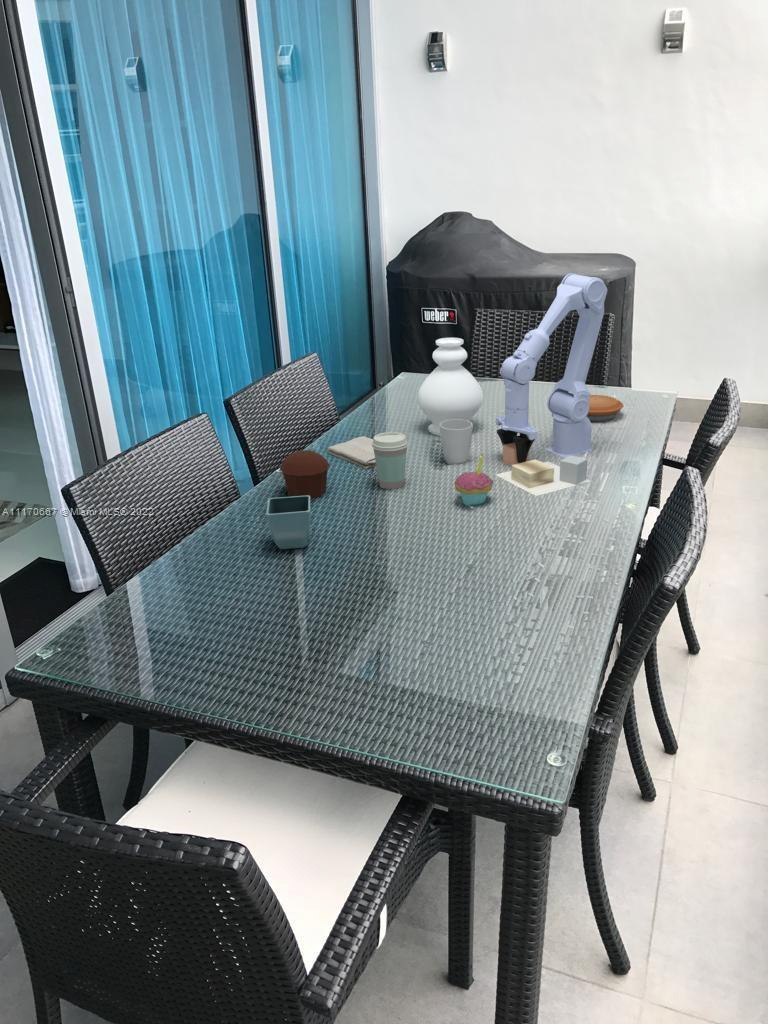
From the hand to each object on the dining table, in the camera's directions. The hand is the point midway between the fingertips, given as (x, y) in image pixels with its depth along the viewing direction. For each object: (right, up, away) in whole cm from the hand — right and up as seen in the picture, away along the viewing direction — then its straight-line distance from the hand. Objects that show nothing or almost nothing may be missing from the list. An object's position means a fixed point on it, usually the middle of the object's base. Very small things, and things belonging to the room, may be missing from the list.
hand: (515, 459), depth 217 cm
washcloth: (-38, +1, +12) cm, 40 cm away
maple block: (+2, -6, -11) cm, 13 cm away
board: (+5, -6, -10) cm, 12 cm away
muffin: (-51, -9, -10) cm, 53 cm away
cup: (-14, -1, +4) cm, 15 cm away
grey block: (+12, -6, -12) cm, 17 cm away
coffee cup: (-31, -7, -8) cm, 33 cm away
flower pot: (-52, -20, -36) cm, 66 cm away
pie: (+28, +14, +34) cm, 46 cm away
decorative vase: (-14, +10, +28) cm, 33 cm away
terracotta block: (0, -1, +1) cm, 1 cm away
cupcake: (-12, -11, -20) cm, 26 cm away
